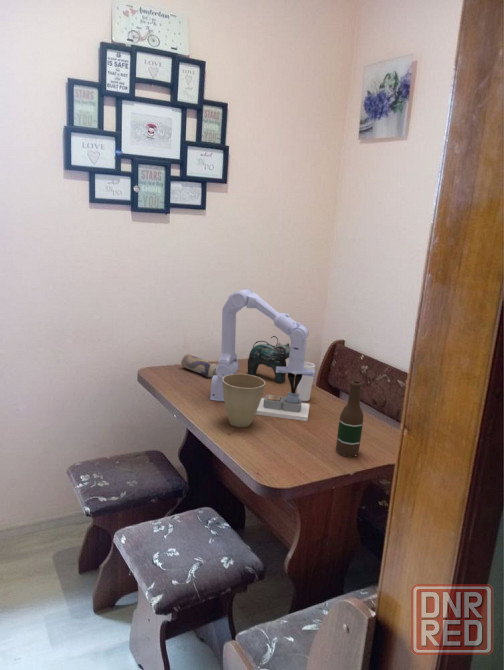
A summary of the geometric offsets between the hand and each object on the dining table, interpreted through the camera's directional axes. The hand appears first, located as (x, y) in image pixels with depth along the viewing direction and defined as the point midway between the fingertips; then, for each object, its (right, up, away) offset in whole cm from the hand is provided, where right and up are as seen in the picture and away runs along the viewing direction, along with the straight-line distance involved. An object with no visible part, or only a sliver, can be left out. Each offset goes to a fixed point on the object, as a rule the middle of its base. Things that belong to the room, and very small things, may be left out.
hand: (293, 392), depth 202 cm
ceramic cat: (-9, +2, +38) cm, 39 cm away
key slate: (0, -3, +1) cm, 3 cm away
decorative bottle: (-37, +4, +36) cm, 52 cm away
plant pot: (-20, -10, -12) cm, 25 cm away
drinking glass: (+5, -5, +16) cm, 17 cm away
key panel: (-4, -7, +2) cm, 9 cm away
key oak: (-7, -5, +2) cm, 9 cm away
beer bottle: (+15, -17, -28) cm, 36 cm away
